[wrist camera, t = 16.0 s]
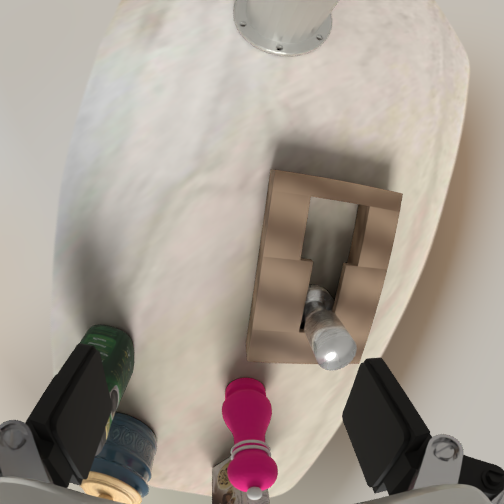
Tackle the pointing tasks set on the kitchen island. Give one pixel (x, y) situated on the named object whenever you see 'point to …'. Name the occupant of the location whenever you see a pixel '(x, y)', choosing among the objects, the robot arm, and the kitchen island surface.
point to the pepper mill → (249, 437)
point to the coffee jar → (112, 364)
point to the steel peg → (326, 330)
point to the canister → (123, 462)
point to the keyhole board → (299, 269)
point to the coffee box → (230, 488)
